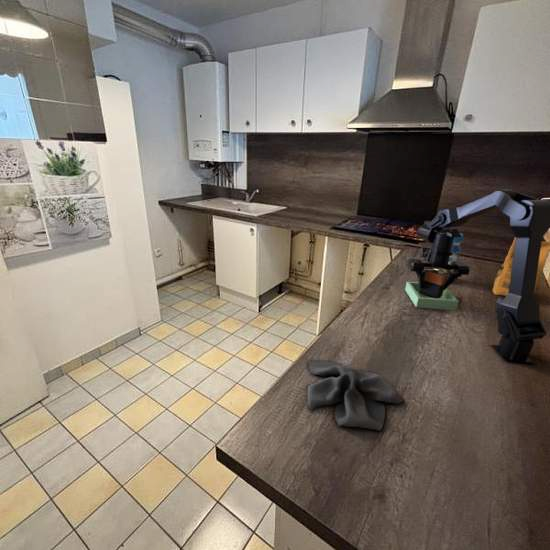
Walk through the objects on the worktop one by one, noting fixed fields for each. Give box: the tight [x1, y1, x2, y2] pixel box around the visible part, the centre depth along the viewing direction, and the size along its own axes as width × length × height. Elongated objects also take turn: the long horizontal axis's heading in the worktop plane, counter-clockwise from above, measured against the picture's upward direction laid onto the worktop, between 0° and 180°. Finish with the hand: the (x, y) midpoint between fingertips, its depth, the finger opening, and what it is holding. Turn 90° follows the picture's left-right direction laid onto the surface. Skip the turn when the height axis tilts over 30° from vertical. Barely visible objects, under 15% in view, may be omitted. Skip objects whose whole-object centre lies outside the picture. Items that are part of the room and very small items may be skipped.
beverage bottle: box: [434, 232, 464, 273], centre depth 120 cm, size 8×8×20 cm
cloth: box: [307, 360, 403, 432], centre depth 63 cm, size 22×19×6 cm
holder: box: [404, 281, 460, 311], centre depth 105 cm, size 14×13×4 cm
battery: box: [419, 268, 448, 299], centre depth 103 cm, size 4×7×10 cm, turn 42°
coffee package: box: [491, 236, 550, 297], centre depth 107 cm, size 10×12×22 cm
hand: (431, 288), depth 104 cm, fingers closed on battery, 7 cm apart
